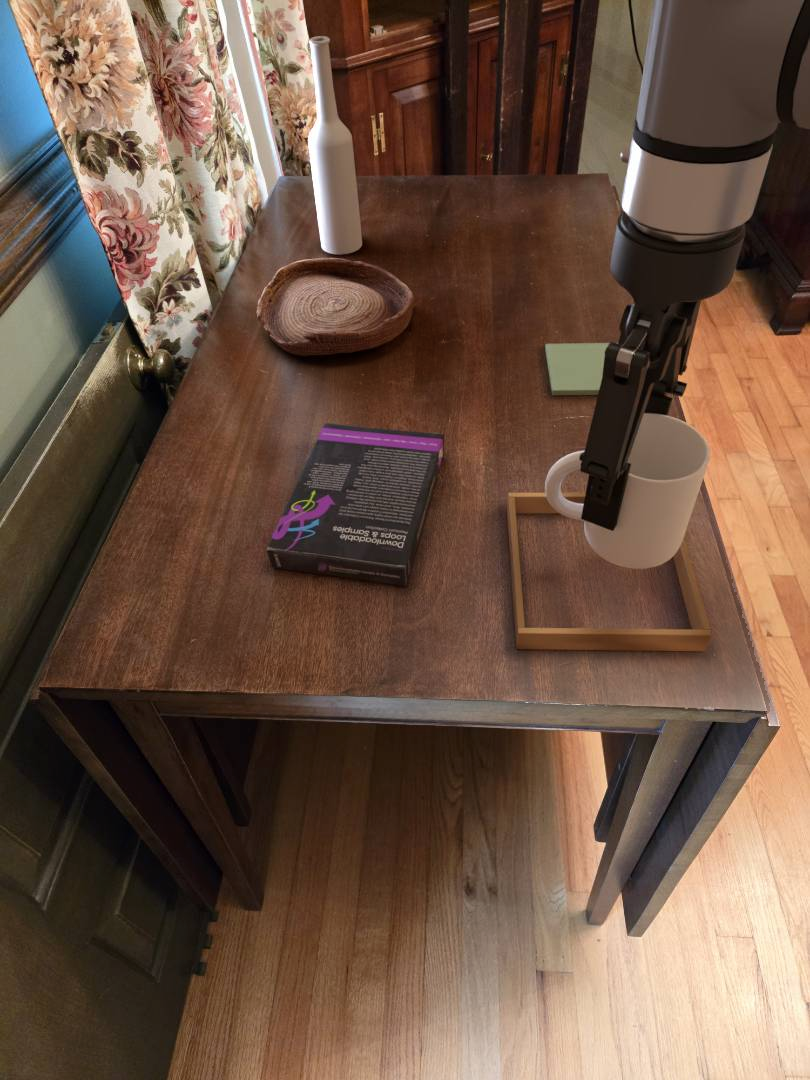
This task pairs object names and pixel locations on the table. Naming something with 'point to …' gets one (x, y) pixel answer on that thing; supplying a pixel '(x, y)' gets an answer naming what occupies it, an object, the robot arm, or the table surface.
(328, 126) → the bottle
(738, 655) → the table surface
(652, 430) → the mug
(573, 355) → the plate
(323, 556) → the box
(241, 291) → the table surface
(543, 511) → the square wooden frame
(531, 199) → the table surface
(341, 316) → the basket
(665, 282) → the robot arm
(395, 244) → the table surface
